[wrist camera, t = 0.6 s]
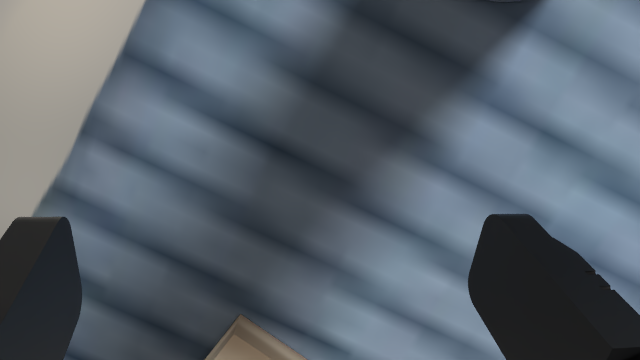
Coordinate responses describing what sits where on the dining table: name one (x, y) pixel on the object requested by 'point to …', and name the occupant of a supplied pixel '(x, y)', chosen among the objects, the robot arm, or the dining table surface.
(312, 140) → the dining table surface
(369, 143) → the dining table surface
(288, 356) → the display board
